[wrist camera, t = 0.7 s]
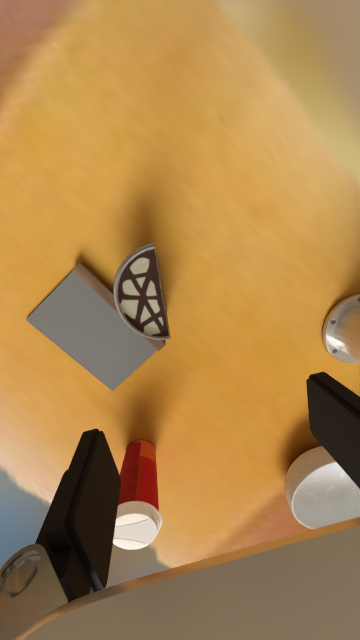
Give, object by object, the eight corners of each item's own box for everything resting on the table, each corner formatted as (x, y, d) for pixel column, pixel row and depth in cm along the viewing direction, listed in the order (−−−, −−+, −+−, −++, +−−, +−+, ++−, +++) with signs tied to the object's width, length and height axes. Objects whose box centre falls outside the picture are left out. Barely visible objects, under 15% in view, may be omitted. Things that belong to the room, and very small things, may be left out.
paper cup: (119, 468, 47) (104, 553, 34) (120, 434, 45) (104, 511, 32) (160, 467, 48) (160, 551, 35) (162, 435, 46) (164, 510, 33)
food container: (114, 250, 37) (99, 249, 27) (155, 244, 37) (153, 241, 27) (131, 327, 40) (122, 351, 30) (168, 321, 40) (170, 343, 31)
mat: (74, 270, 37) (73, 270, 37) (157, 348, 41) (157, 349, 41) (27, 318, 38) (25, 319, 38) (113, 389, 43) (112, 391, 42)
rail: (82, 261, 37) (79, 262, 35) (165, 341, 41) (165, 344, 40) (75, 268, 37) (72, 269, 35) (158, 347, 41) (158, 350, 40)
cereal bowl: (306, 420, 48) (330, 447, 41) (367, 448, 51) (399, 478, 44) (259, 482, 51) (274, 517, 45) (319, 505, 55) (342, 541, 48)
